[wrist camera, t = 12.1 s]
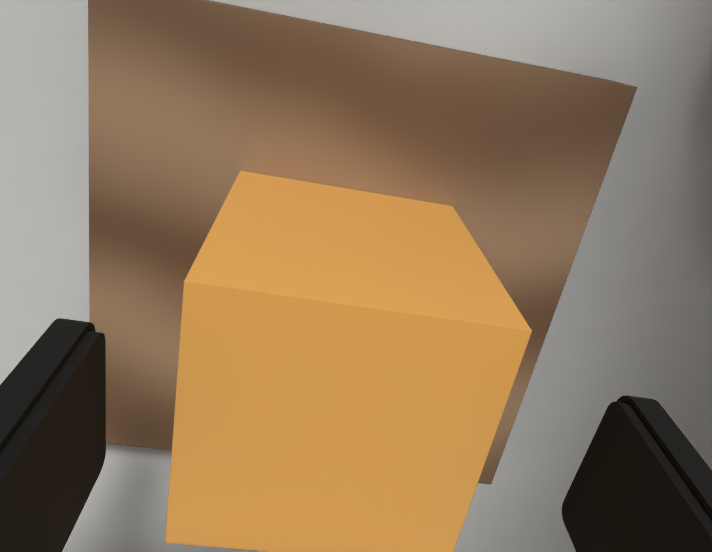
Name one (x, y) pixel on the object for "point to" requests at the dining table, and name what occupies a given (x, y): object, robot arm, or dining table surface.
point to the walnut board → (316, 164)
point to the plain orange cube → (336, 373)
